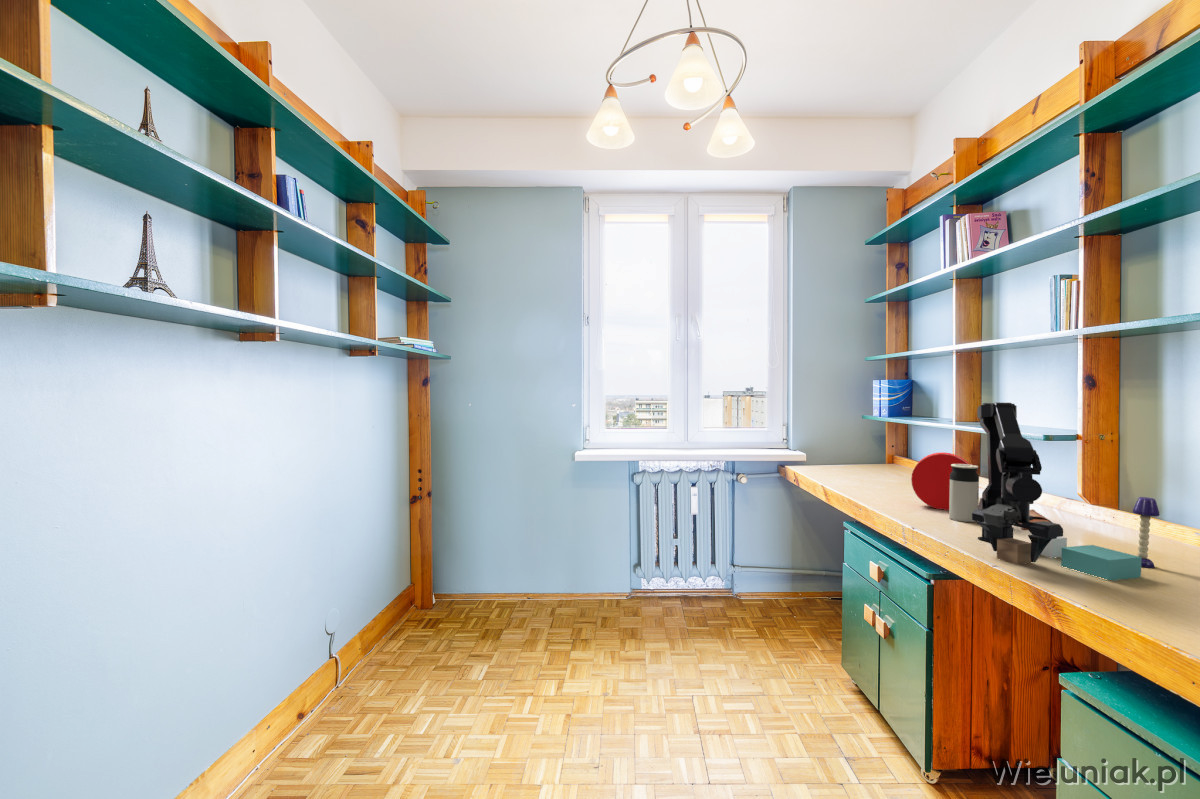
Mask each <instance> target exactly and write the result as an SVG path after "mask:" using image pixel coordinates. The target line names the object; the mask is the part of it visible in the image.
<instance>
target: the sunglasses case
mask: <svg viewBox="0 0 1200 799" xmlns="http://www.w3.org/2000/svg"><path fill="white" fill-rule="evenodd" d="M1029 515H1030V516H1033V520H1031V521H1029V522H1040V521H1047V522H1051V523H1054V522H1053V521H1051V520H1050V519H1048V518H1046V517H1045V516H1044V515H1042V514H1041V513H1039V512H1037V511H1036V510H1035V509H1030V512H1029ZM1019 524H1021V523H1019ZM1021 530H1024V531H1029V529H1025V528H1022V529H1021Z"/></svg>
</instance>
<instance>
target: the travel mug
mask: <svg viewBox="0 0 1200 799" xmlns="http://www.w3.org/2000/svg"><path fill="white" fill-rule="evenodd" d="M951 466H952V472H951V473H950V498H949V510H948V517H949V518H950V519H951V520H953V521H956V520H957V521H956V522H961V521H963V522H962V523H976V522H977V521H974V520H972V512H973V511H974V510H976V509H978V505H979V502H980V499H979V498H980V497H979V496H980V492H979V491H980V488H979V487H980V476H979V474H978V468H979V465H974V464H970V465H968V464H951Z"/></svg>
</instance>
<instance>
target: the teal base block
mask: <svg viewBox="0 0 1200 799" xmlns="http://www.w3.org/2000/svg"><path fill="white" fill-rule="evenodd" d="M1060 558H1061V561H1060V562H1061V564H1060V566H1063V567H1067V568H1070V569H1074V570H1077V571H1080V572H1084V573H1087V574H1090V575H1094V576H1097V577H1101V578H1104V579H1107V580H1114V581H1119V580H1118V579H1123V580H1131V579H1130V578H1132V579H1140V578H1139V577H1141V578H1142V567H1141V557H1139V556H1138V555H1135V554H1130V553H1126V552H1122V551H1118V550H1114V549H1110V548H1106V547H1104V546H1103V547H1101V546H1098V545H1094V544H1087V545H1074V546H1067V547H1062V555H1061V557H1060ZM1063 567H1062V568H1063ZM1067 568H1066V569H1067ZM1070 569H1069V570H1070ZM1077 571H1076V572H1077ZM1080 572H1079V573H1080ZM1087 574H1086V575H1087ZM1090 575H1089V576H1090ZM1097 577H1096V578H1097ZM1107 580H1106V581H1107Z"/></svg>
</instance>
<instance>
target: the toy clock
mask: <svg viewBox="0 0 1200 799" xmlns="http://www.w3.org/2000/svg"><path fill="white" fill-rule="evenodd" d="M951 464H968V465H971V464H970V462H968V461H967V460H966V459H965V458H963V457H962V456H959V455H957V454H954V453H951V452H936V453H935V452H933V453H931V454H927V455H926V456H925V457H924V456H923V457H922V458H921V459H920V460H919V461H918V462H917V464H916V465H915V466H914V468H913V471H912V474H911V480H910V481H911V487H912V489H913V491H914V494H915V495H916V496H917V497H918V499H919V500H920V501H921V502H923V503H924V504H926V505H927V506H929V507H931V508H934V509H937V510H941V509H944V510H943V511H949V498H950V473H951V472H952V466H951Z"/></svg>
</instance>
